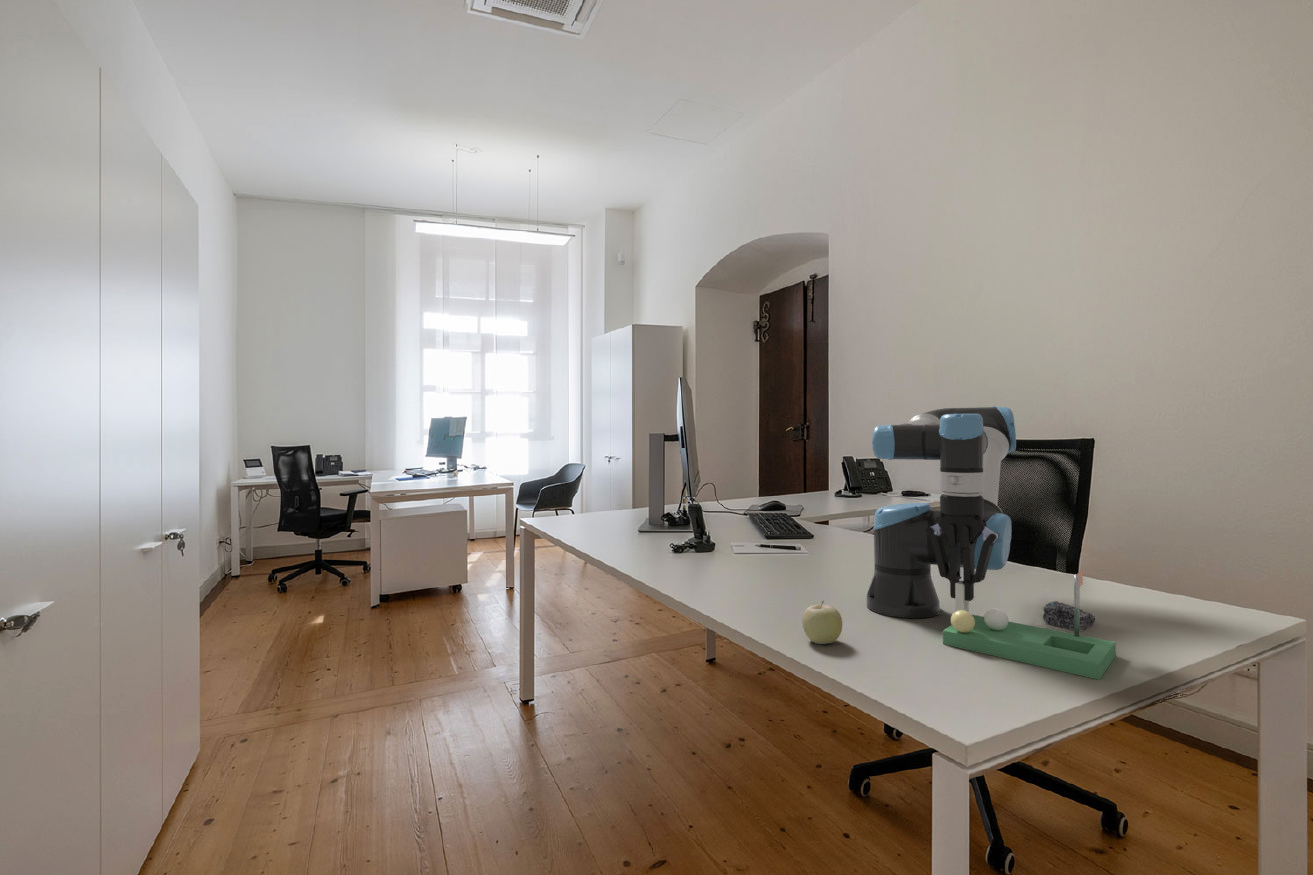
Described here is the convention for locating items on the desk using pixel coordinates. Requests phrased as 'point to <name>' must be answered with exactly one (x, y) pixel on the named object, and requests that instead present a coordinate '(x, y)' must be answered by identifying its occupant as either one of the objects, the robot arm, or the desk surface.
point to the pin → (1077, 602)
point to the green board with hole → (1037, 647)
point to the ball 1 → (962, 621)
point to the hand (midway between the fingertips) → (962, 616)
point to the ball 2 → (996, 619)
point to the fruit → (822, 623)
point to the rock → (1066, 616)
